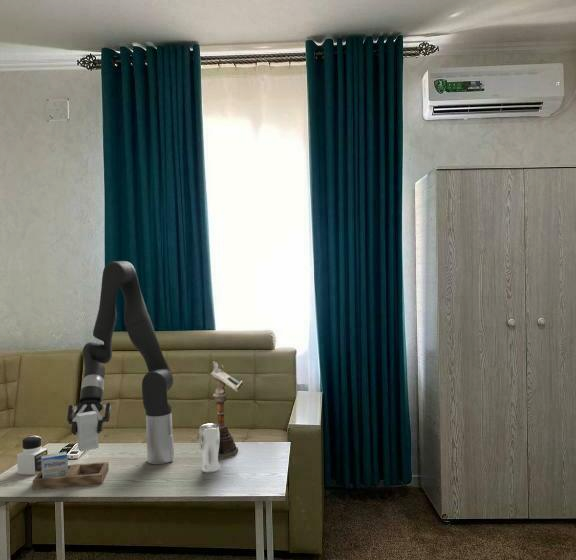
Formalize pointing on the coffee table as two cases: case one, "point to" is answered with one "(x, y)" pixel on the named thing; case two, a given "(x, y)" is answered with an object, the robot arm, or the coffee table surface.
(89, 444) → the skincare box
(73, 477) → the walnut pocket rack
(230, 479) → the coffee table surface
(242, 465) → the coffee table surface
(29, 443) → the medicine bottle
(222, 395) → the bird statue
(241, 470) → the coffee table surface
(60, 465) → the medicine box
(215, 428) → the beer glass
